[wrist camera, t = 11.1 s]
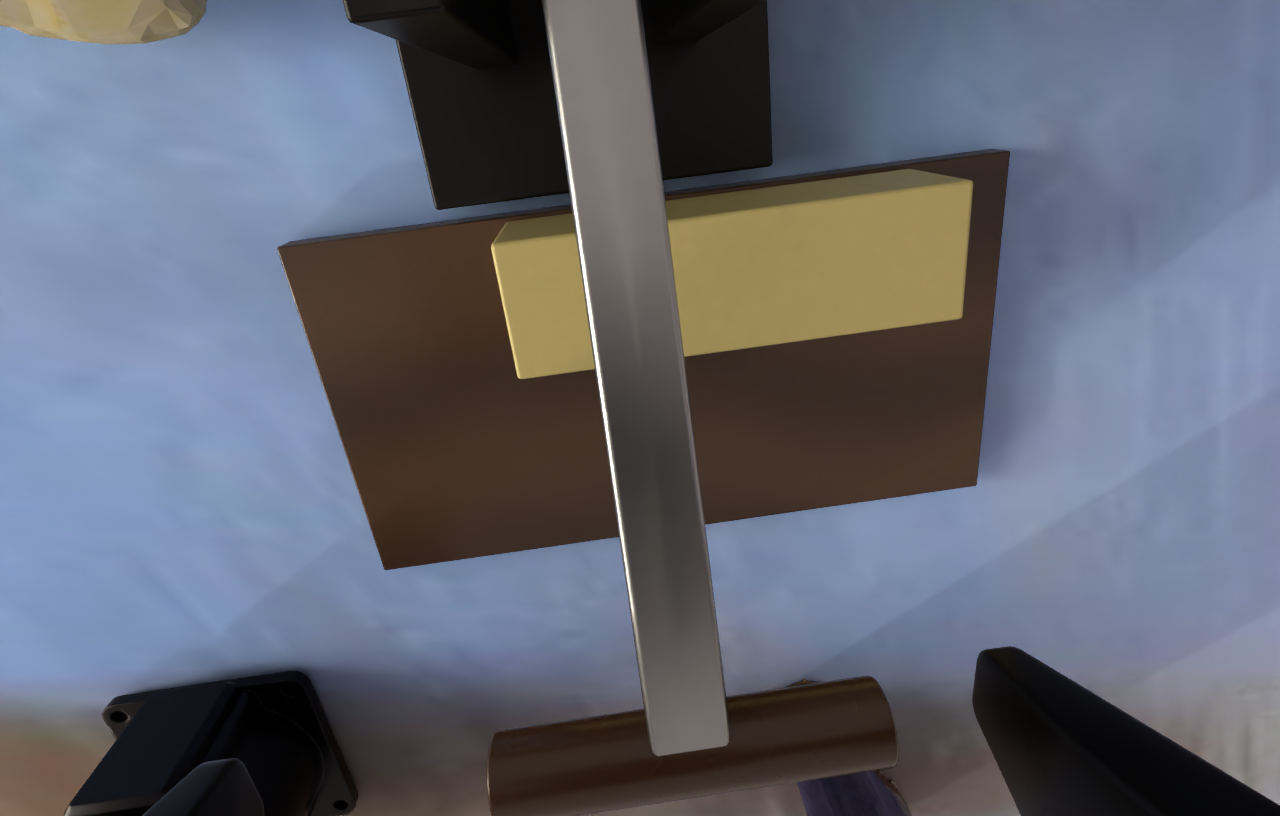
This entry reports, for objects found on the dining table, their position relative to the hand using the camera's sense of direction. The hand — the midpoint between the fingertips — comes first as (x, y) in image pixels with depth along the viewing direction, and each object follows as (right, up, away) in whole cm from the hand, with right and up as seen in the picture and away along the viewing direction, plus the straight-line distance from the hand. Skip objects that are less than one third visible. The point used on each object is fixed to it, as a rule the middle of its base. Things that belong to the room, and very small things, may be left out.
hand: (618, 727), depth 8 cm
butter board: (+1, +5, +11) cm, 12 cm away
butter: (+2, +8, +9) cm, 12 cm away
